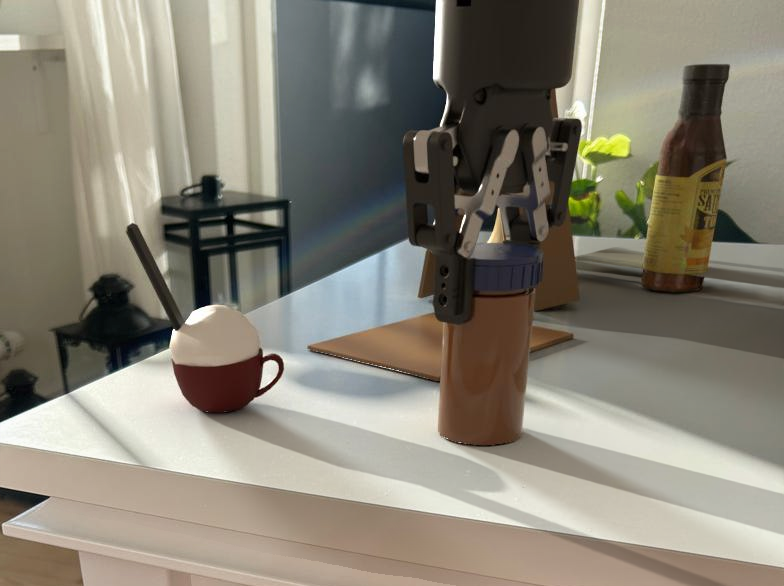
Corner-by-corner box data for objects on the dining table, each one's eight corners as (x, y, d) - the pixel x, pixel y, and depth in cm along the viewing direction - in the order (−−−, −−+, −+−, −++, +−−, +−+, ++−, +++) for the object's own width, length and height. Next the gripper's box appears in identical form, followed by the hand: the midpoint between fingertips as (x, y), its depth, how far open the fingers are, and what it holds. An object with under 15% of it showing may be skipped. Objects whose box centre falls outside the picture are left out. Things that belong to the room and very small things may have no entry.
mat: (444, 313, 96) (444, 309, 95) (573, 338, 87) (574, 333, 87) (307, 350, 85) (307, 345, 85) (438, 382, 76) (438, 377, 76)
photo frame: (545, 267, 114) (571, 4, 102) (578, 311, 95) (614, -5, 83) (412, 268, 115) (421, 8, 103) (419, 311, 96) (431, -1, 84)
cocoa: (295, 402, 72) (291, 221, 66) (246, 428, 68) (237, 235, 62) (186, 385, 77) (173, 213, 71) (134, 407, 72) (115, 226, 66)
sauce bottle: (695, 297, 100) (734, 64, 90) (631, 291, 103) (663, 64, 93) (710, 285, 105) (750, 62, 95) (649, 279, 108) (681, 63, 98)
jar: (471, 413, 69) (482, 251, 64) (538, 431, 66) (556, 261, 61) (420, 433, 66) (428, 263, 61) (488, 452, 63) (502, 274, 58)
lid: (423, 277, 63) (424, 247, 62) (506, 268, 65) (508, 239, 64) (473, 295, 58) (475, 263, 57) (561, 285, 60) (564, 254, 59)
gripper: (527, -7, 61) (503, 287, 69) (364, -13, 52) (360, 324, 61) (641, -14, 56) (601, 302, 65) (483, -21, 47) (461, 345, 56)
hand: (484, 311), depth 62 cm, fingers closed on lid, 5 cm apart
